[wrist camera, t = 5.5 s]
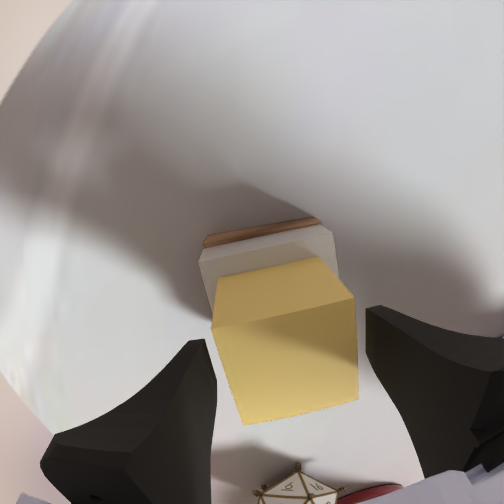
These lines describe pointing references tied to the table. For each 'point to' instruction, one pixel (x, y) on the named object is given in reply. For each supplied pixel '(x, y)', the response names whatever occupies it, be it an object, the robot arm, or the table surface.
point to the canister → (368, 494)
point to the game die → (298, 491)
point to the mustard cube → (286, 340)
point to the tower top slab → (265, 254)
